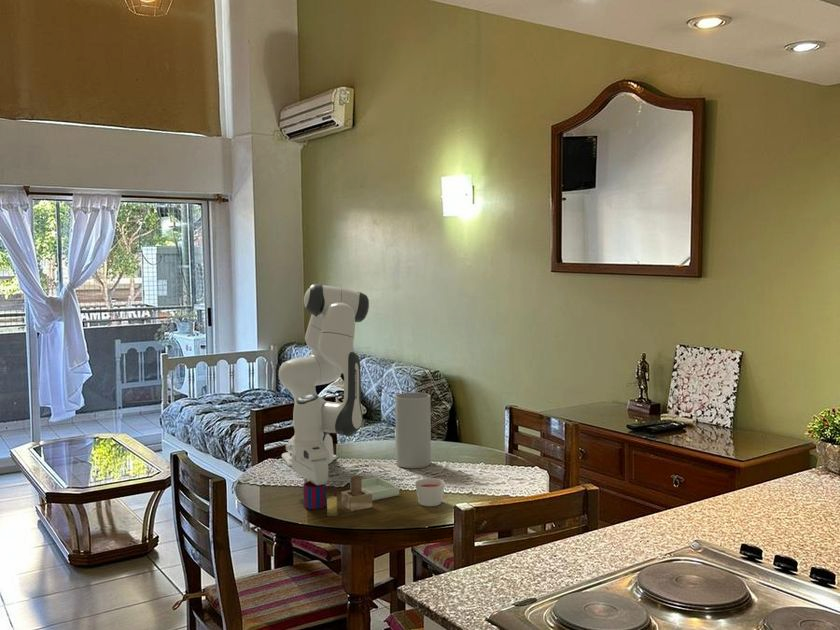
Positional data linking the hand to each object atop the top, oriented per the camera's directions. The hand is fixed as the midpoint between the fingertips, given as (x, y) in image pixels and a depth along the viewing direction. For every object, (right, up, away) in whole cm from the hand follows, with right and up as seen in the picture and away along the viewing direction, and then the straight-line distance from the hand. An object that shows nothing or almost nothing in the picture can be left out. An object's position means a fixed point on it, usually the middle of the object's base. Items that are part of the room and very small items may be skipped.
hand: (309, 491), depth 238 cm
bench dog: (+8, -4, -13) cm, 16 cm away
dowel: (+15, -3, -5) cm, 16 cm away
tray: (+20, -2, +7) cm, 21 cm away
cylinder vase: (+32, +1, +39) cm, 50 cm away
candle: (+37, -3, -3) cm, 37 cm away
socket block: (+15, -3, -5) cm, 16 cm away
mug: (+4, -3, -5) cm, 7 cm away
